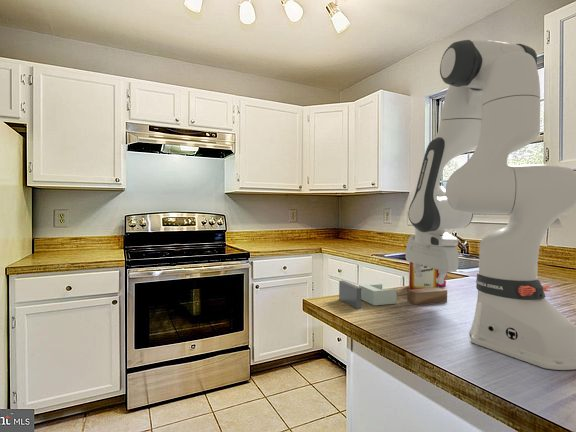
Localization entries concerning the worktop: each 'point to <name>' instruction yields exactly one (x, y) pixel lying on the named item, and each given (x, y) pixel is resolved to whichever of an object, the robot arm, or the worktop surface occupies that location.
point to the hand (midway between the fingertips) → (429, 280)
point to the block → (378, 294)
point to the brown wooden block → (426, 296)
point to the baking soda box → (426, 280)
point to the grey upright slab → (350, 294)
